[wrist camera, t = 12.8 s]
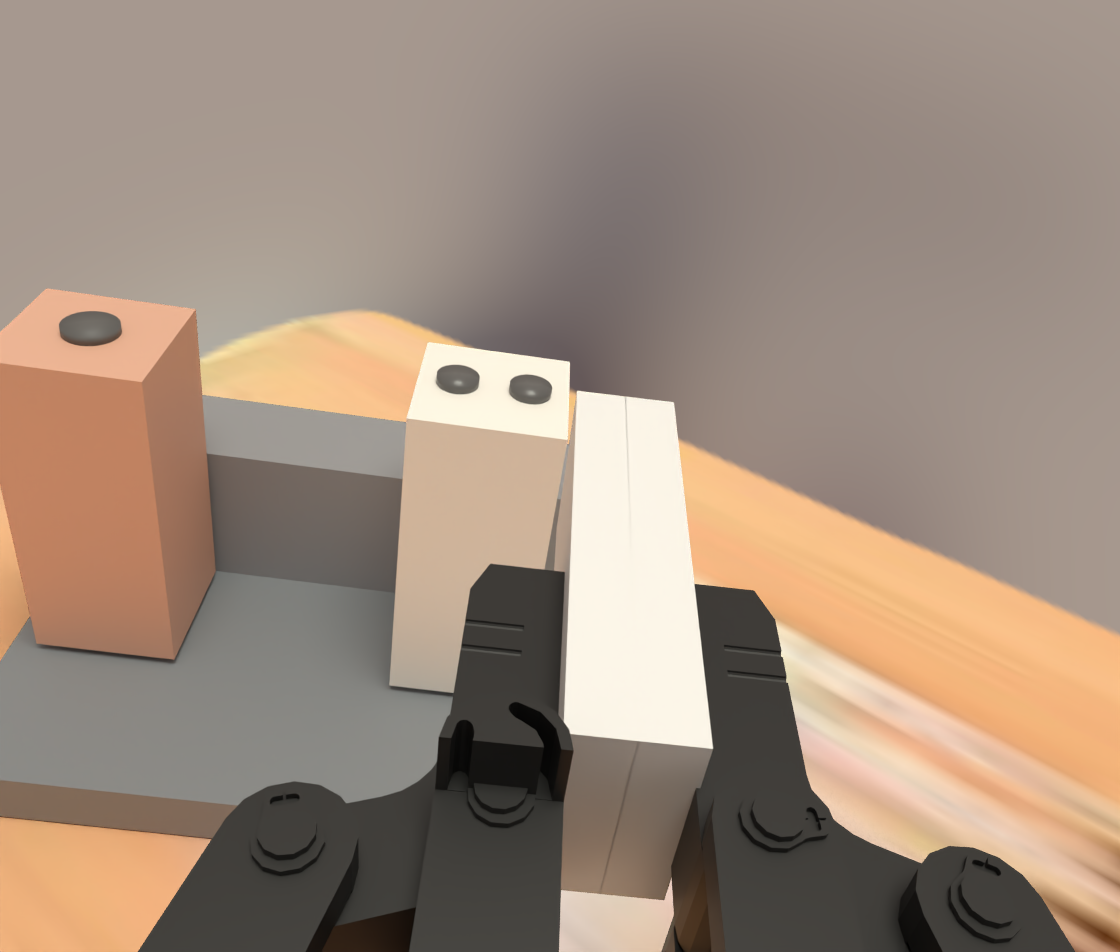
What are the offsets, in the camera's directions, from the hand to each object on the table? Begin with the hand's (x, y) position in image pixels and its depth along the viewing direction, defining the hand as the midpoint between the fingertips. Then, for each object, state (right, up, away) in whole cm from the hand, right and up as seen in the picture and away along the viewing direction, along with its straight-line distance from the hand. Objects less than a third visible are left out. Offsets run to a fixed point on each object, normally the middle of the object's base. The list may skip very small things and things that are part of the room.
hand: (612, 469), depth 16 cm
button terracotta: (-18, -5, +23) cm, 29 cm away
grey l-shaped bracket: (-12, -8, +24) cm, 28 cm away
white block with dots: (-5, -7, +24) cm, 25 cm away
